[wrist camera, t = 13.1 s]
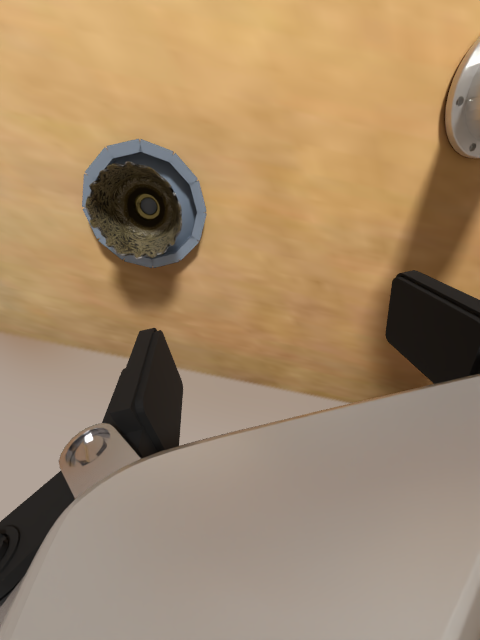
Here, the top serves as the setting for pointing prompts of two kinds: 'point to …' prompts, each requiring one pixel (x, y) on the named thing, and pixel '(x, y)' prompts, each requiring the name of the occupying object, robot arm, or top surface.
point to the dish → (180, 183)
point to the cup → (134, 210)
